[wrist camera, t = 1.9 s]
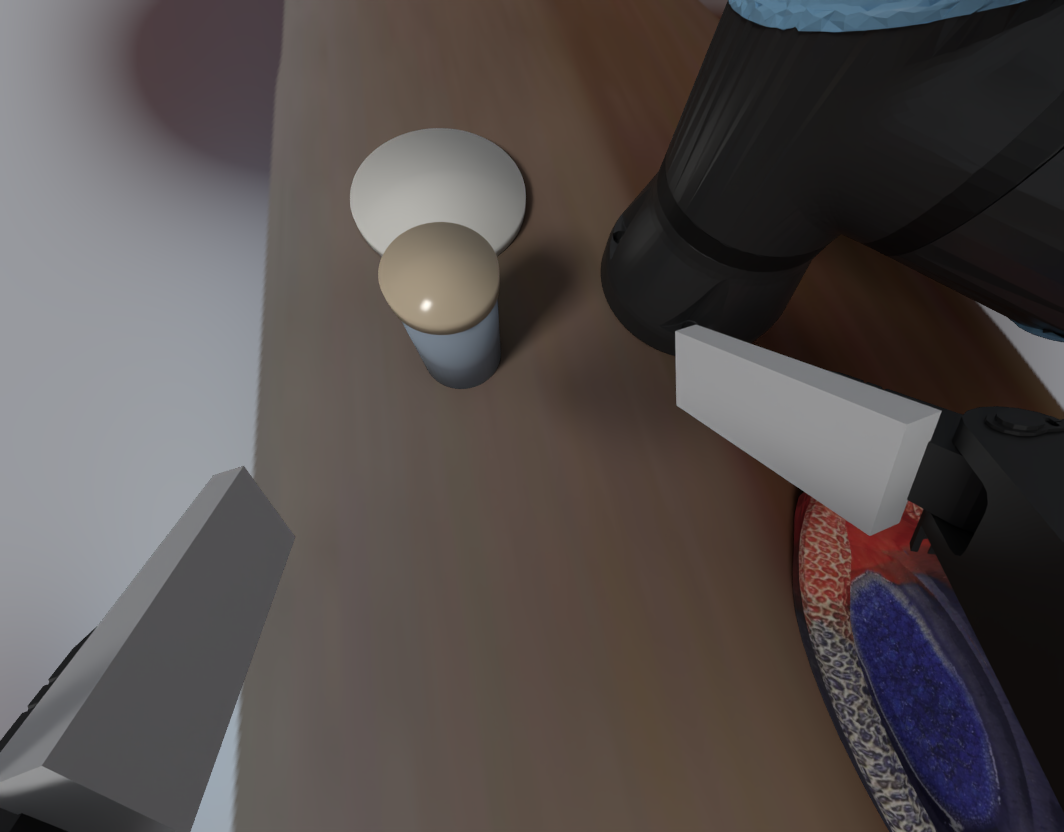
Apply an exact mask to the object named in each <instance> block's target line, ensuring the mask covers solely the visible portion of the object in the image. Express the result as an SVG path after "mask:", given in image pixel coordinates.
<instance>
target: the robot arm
mask: <svg viewBox="0 0 1064 832" xmlns="http://www.w3.org/2000/svg"><path fill="white" fill-rule="evenodd" d="M840 234H842V235H845V236H847V237H849V238H851V239H854V240H856V241H858V242H860V243H862V244H864V245H866V246H868V247H870V248H872V249H874V250H876V251H878V252H880V253H882V254H884V255H886V256H888V257H890V258H892V259H894V260H896V261H898V262H900V263H902V264H904V265H906V266H908V267H910V268H912V269H914V270H916V271H918V272H920V273H922V274H924V275H926V276H928V277H930V278H931V279H933V280H935V281H937V282H939V283H941V284H943V285H945V286H947V287H949V288H951V289H953V290H955V291H957V292H959V293H961V294H963V295H965V296H967V297H969V298H971V299H973V300H975V301H977V302H979V303H980V304H982V305H984V306H986V307H988V308H990V309H992V310H994V311H996V312H998V313H1000V314H1002V315H1004V316H1006V317H1008V318H1009V319H1010V320H1011V321H1013V322H1014V323H1015V324H1016V325H1017V326H1018V327H1019V328H1022V329H1023V330H1025V331H1027V332H1029V333H1031V334H1034V335H1037V336H1040V337H1043V338H1047V339H1049V340H1054V341H1059V342H1064V0H728V2H727V4H726V7H725V9H724V12H723V14H722V17H721V19H720V22H719V24H718V26H717V29H716V31H715V34H714V36H713V39H712V41H711V44H710V46H709V49H708V51H707V54H706V56H705V59H704V61H703V64H702V66H701V69H700V71H699V74H698V76H697V78H696V81H695V83H694V86H693V88H692V91H691V93H690V96H689V98H688V101H687V103H686V106H685V108H684V111H683V113H682V116H681V118H680V121H679V123H678V125H677V128H676V130H675V133H674V135H673V138H672V140H671V142H670V145H669V148H668V150H667V153H666V155H665V157H664V160H663V162H662V165H661V167H660V170H659V172H658V173H657V174H656V175H655V176H654V177H653V179H652V180H651V181H650V182H649V183H648V184H647V186H646V187H645V188H644V189H643V190H642V191H641V193H640V194H639V195H638V196H637V197H636V198H635V200H634V201H633V202H632V203H631V204H630V205H629V207H628V208H627V209H626V210H625V211H624V212H623V213H622V215H621V216H620V217H619V219H618V220H617V222H616V223H615V225H614V227H613V229H612V231H611V233H610V236H609V239H608V242H607V245H606V248H605V251H604V254H603V257H602V262H601V282H602V287H603V291H604V294H605V297H606V299H607V302H608V304H609V306H610V308H611V309H612V311H613V313H614V314H615V316H616V317H617V318H618V320H619V321H620V322H621V323H622V324H623V325H624V326H625V327H626V328H627V329H628V330H629V331H630V332H631V333H632V334H633V335H634V336H636V337H637V338H638V339H640V340H641V341H643V342H644V343H646V344H648V345H649V346H651V347H653V348H655V349H657V350H659V351H662V352H664V353H667V354H670V355H674V356H676V405H677V406H678V407H680V408H681V409H683V410H684V411H686V412H687V413H689V414H690V415H692V416H693V417H695V418H696V419H697V420H699V421H700V422H702V423H703V424H705V425H706V426H708V427H709V428H711V429H712V430H714V431H715V432H717V433H718V434H720V435H721V436H723V437H724V438H726V439H727V440H728V441H730V442H731V443H733V444H734V445H736V446H737V447H739V448H740V449H742V450H743V451H745V452H746V453H748V454H749V455H751V456H752V457H754V458H755V459H757V460H758V461H760V462H761V463H762V464H764V465H765V466H767V467H768V468H770V469H771V470H773V471H774V472H776V473H777V474H779V475H780V476H782V477H783V478H785V479H786V480H788V481H789V482H791V483H792V484H794V485H795V486H796V487H798V488H799V489H801V490H802V491H804V492H805V493H807V494H808V495H810V496H811V497H813V498H814V499H816V500H817V501H819V502H820V503H822V504H823V505H825V506H826V507H827V508H829V509H830V510H832V511H833V512H835V513H836V514H838V515H839V516H841V517H842V518H844V519H845V520H847V521H848V522H850V523H851V524H853V525H854V526H856V527H857V528H859V529H860V530H861V531H863V532H864V533H866V534H867V535H869V536H871V535H873V534H876V533H878V532H880V531H882V530H885V529H887V528H889V527H891V526H894V525H896V524H898V523H899V522H900V520H901V517H902V514H903V512H904V509H905V507H906V504H907V501H910V502H912V503H914V504H915V505H917V506H919V507H921V508H923V512H922V514H921V516H920V519H919V521H918V524H917V526H916V529H915V531H914V533H913V536H912V538H911V541H910V551H913V552H918V550H919V548H920V545H921V543H922V541H923V539H928V540H929V542H930V544H931V546H930V548H929V550H928V554H933V555H936V556H937V558H938V560H939V562H940V564H941V566H942V568H943V570H944V572H945V574H946V576H947V578H948V580H949V582H950V584H951V586H952V588H953V590H954V593H955V595H956V597H957V599H958V601H959V603H960V605H961V607H962V609H963V611H964V613H965V615H966V617H967V619H968V621H969V623H970V625H971V627H972V629H973V631H974V633H975V635H976V637H977V639H978V641H979V643H980V645H981V647H982V649H983V651H984V653H985V655H986V657H987V659H988V661H989V663H990V665H991V667H992V669H993V671H994V673H995V675H996V677H997V679H998V681H999V683H1000V685H1001V687H1002V689H1003V691H1004V693H1005V695H1006V697H1007V699H1008V701H1009V703H1010V705H1011V707H1012V710H1013V712H1014V714H1015V716H1016V718H1017V720H1018V722H1019V724H1020V726H1021V728H1022V730H1023V732H1024V734H1025V736H1026V738H1027V740H1028V742H1029V744H1030V746H1031V748H1032V750H1033V752H1034V754H1035V756H1036V758H1037V760H1038V762H1039V764H1040V766H1041V768H1042V770H1043V772H1044V774H1045V776H1046V778H1047V780H1048V782H1049V784H1050V786H1051V788H1052V790H1053V792H1054V794H1055V796H1056V798H1057V800H1058V802H1059V804H1060V806H1061V808H1062V810H1063V812H1064V419H1062V420H1059V419H1057V418H1055V417H1052V416H1048V415H1045V414H1042V413H1038V412H1034V411H1029V410H1024V409H1019V408H1009V407H998V406H996V407H979V408H976V409H972V410H968V411H967V412H966V413H965V414H964V415H962V414H959V413H956V412H953V411H950V410H947V409H944V408H941V407H938V406H935V405H933V404H930V403H927V402H924V401H921V400H918V399H915V398H912V397H909V396H907V395H904V394H901V393H898V392H895V391H892V390H889V389H885V390H883V389H882V387H880V386H878V385H875V384H872V383H869V382H867V383H864V382H863V380H860V379H857V378H854V377H852V376H849V375H846V374H843V373H839V372H833V371H827V370H824V369H821V368H818V367H816V366H813V365H810V364H807V363H804V362H801V361H798V360H796V359H793V358H790V357H787V356H784V355H781V354H779V353H776V352H773V351H770V350H767V349H764V348H761V347H759V346H756V345H753V344H751V343H752V342H753V341H755V340H756V339H757V338H759V337H760V336H761V335H762V334H764V333H765V332H766V331H767V330H768V329H769V328H771V327H772V325H773V324H774V323H775V322H776V321H777V320H778V319H779V317H780V316H781V315H782V313H783V311H784V310H785V308H786V306H787V304H788V302H789V301H790V299H791V297H792V295H793V293H794V291H795V290H796V288H797V286H798V284H799V282H800V281H801V279H802V277H803V275H804V273H805V271H806V270H807V268H808V266H809V264H810V262H811V260H812V259H813V258H814V257H815V256H816V255H817V254H818V253H819V252H820V251H821V250H823V249H824V248H825V247H826V246H827V245H828V244H829V243H830V242H832V241H833V240H834V239H835V238H837V237H838V236H839V235H840ZM294 539H295V536H294V534H293V533H292V532H291V530H290V529H289V528H288V526H287V525H286V523H285V522H284V521H283V519H282V518H281V517H280V515H279V514H278V512H277V511H276V510H275V508H274V507H273V506H272V504H271V503H270V501H269V500H268V499H267V497H266V496H265V495H264V493H263V492H262V490H261V489H260V488H259V486H258V485H257V484H256V482H255V481H254V479H253V478H252V477H251V475H250V474H249V473H248V471H247V470H246V469H245V467H244V466H242V467H238V468H235V469H233V470H229V471H226V472H223V473H219V474H217V475H213V476H212V478H211V479H210V480H209V482H208V483H207V484H206V486H205V487H204V488H203V490H202V491H201V492H200V493H199V495H198V496H197V497H196V499H195V500H194V501H193V503H192V504H191V505H190V506H189V508H188V509H187V510H186V512H185V513H184V514H183V516H182V517H181V518H180V519H179V521H178V522H177V523H176V525H175V526H174V527H173V529H172V530H171V531H170V533H169V534H168V535H167V536H166V538H165V539H164V540H163V541H162V543H161V544H160V545H159V547H158V548H157V549H156V551H155V552H154V553H153V554H152V556H151V557H150V558H149V560H148V561H147V562H146V564H145V565H144V566H143V568H142V569H141V570H140V571H139V573H138V574H137V575H136V577H135V578H134V579H133V581H132V582H131V583H130V585H129V586H128V587H127V588H126V590H125V591H124V592H123V594H122V595H121V596H120V597H119V599H118V600H117V601H116V603H115V604H114V605H113V607H112V608H111V609H110V610H109V612H108V613H107V614H106V616H105V617H104V618H103V620H102V621H101V622H100V623H99V625H98V626H97V627H96V628H95V629H94V630H93V631H91V633H89V634H88V635H87V636H86V637H85V638H84V639H83V640H82V641H81V642H80V643H79V644H78V645H76V646H75V647H74V648H73V649H72V651H71V652H70V653H69V654H68V655H67V657H66V658H65V659H64V661H63V662H62V663H61V664H60V666H59V667H58V668H57V669H56V671H55V672H54V673H53V674H52V676H51V677H50V678H49V684H48V685H45V686H43V687H42V689H41V690H40V691H39V693H38V694H37V695H36V696H35V697H34V699H33V700H32V701H31V702H30V704H29V705H28V711H27V712H24V713H22V714H21V715H20V716H19V718H18V719H17V720H16V722H15V723H14V724H13V725H12V727H11V728H10V729H9V730H8V732H7V733H6V734H5V736H4V737H3V738H2V740H1V741H0V832H190V831H191V828H192V825H193V823H194V820H195V817H196V814H197V811H198V809H199V806H200V803H201V800H202V797H203V795H204V792H205V789H206V786H207V783H208V781H209V778H210V775H211V772H212V769H213V767H214V763H215V761H216V758H217V755H218V752H219V750H220V747H221V744H222V741H223V738H224V735H225V733H226V730H227V727H228V724H229V722H230V719H231V716H232V713H233V710H234V708H235V705H236V702H237V699H238V696H239V694H240V691H241V688H242V685H243V682H244V680H245V677H246V674H247V671H248V668H249V666H250V663H251V660H252V657H253V654H254V652H255V649H256V646H257V643H258V640H259V638H260V635H261V632H262V629H263V626H264V624H265V621H266V618H267V615H268V612H269V609H270V607H271V604H272V601H273V598H274V595H275V593H276V590H277V587H278V584H279V581H280V579H281V576H282V573H283V570H284V567H285V565H286V562H287V559H288V556H289V553H290V551H291V548H292V545H293V542H294Z"/></svg>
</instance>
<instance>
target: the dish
mask: <svg viewBox="0 0 1064 832" xmlns="http://www.w3.org/2000/svg"><path fill="white" fill-rule="evenodd" d="M922 512H923V508H921V507H919V506H917V505H915V504H914V503H912V502H910V501H907V504H906V507H905V509H904V512H903V514H902V517H901V520H900V522H899V523H898V524H896V525H894V526H891V527H889V528H887V529H885V530H882V531H880V532H878V533H876V534H873V535H871V536H869V535H867V534H866V533H864V532H863V531H861V530H860V529H859V528H857V527H856V526H854V525H853V524H851V523H850V522H848V521H847V520H845V519H844V518H842V517H841V516H839V515H838V514H836V513H835V512H833V511H832V510H830V509H829V508H827V507H826V506H825V505H823V504H822V503H820V502H819V501H817V500H816V499H814V498H813V497H811V496H810V495H808V494H807V493H805V492H803V493H802V494H801V495H800V496H799V498H798V502H797V506H796V510H795V517H794V553H793V596H794V605H795V613H796V618H797V622H798V626H799V630H800V634H801V638H802V642H803V645H804V648H805V651H806V654H807V657H808V660H809V663H810V666H811V669H812V672H813V674H814V677H815V680H816V682H817V685H818V687H819V690H820V693H821V695H822V698H823V700H824V703H825V705H826V708H827V710H828V712H829V714H830V717H831V719H832V721H833V723H834V726H835V728H836V730H837V733H838V735H839V737H840V739H841V741H842V743H843V745H844V747H845V749H846V751H847V753H848V755H849V757H850V759H851V761H852V763H853V765H854V767H855V769H856V771H857V773H858V775H859V777H860V779H861V781H862V783H863V785H864V787H865V789H866V791H867V792H868V794H869V796H870V798H871V800H872V801H873V803H874V805H875V807H876V809H877V810H878V812H879V814H880V816H881V818H882V819H883V821H884V823H885V825H886V826H887V828H888V830H889V831H890V832H1064V812H1063V810H1062V808H1061V806H1060V804H1059V802H1058V800H1057V798H1056V796H1055V794H1054V792H1053V790H1052V788H1051V786H1050V784H1049V782H1048V780H1047V778H1046V776H1045V774H1044V772H1043V770H1042V768H1041V766H1040V764H1039V762H1038V760H1037V758H1036V756H1035V754H1034V752H1033V750H1032V748H1031V746H1030V744H1029V742H1028V740H1027V738H1026V736H1025V734H1024V732H1023V730H1022V728H1021V726H1020V724H1019V722H1018V720H1017V718H1016V716H1015V714H1014V712H1013V710H1012V707H1011V705H1010V703H1009V701H1008V699H1007V697H1006V695H1005V693H1004V691H1003V689H1002V687H1001V685H1000V683H999V681H998V679H997V677H996V675H995V673H994V671H993V669H992V667H991V665H990V663H989V661H988V659H987V657H986V655H985V653H984V651H983V649H982V647H981V645H980V643H979V641H978V639H977V637H976V635H975V633H974V631H973V629H972V627H971V625H970V623H969V621H968V619H967V617H966V615H965V613H964V611H963V609H962V607H961V605H960V603H959V601H958V599H957V597H956V595H955V593H954V590H953V588H952V586H951V584H950V582H949V580H948V578H947V576H946V574H945V572H944V570H943V568H942V566H941V564H940V562H939V560H938V558H937V556H936V555H933V554H928V550H929V548H930V546H931V544H930V542H929V540H928V539H923V541H922V543H921V545H920V548H919V550H918V552H913V551H910V541H911V538H912V536H913V533H914V531H915V529H916V526H917V524H918V521H919V519H920V516H921V514H922Z"/></svg>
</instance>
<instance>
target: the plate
mask: <svg viewBox="0 0 1064 832" xmlns="http://www.w3.org/2000/svg"><path fill="white" fill-rule="evenodd" d="M350 205H351V211H352V215H353V218H354V220H355V222H356V224H357V227H358V228H359V230H360V232H361V234H362V236H363V237H364V239H365V240H366V242H367V243H368V244H369V245H370V247H371V248H372V249H373V250H374V251H375V252H377V253H378V254H379V255H380V256H381V257H382V256H383V254H384V252H385V250H386V249H387V247H388V246H389V245H390V243H391V242H392V241H393V240H394V239H395V238H397V237H398V236H399V235H400V234H402V233H404V232H405V231H407V230H409V229H411V228H413V227H416V226H418V225H422V224H426V223H432V222H449V223H455V224H460V225H463V226H466V227H468V228H470V229H472V230H474V231H476V232H477V233H479V234H480V235H481V236H482V237H484V238H485V239H486V240H487V241H488V242H489V244H490V245H491V246H492V248H493V250H494V252H495V253H496V256H498V255H499V254H501V253H502V252H503V251H504V250H505V249H506V248H507V247H508V246H509V245H510V244H511V243H512V241H513V240H514V239H515V237H516V236H517V234H518V232H519V230H520V228H521V226H522V223H523V219H524V216H525V206H526V191H525V185H524V180H523V177H522V175H521V173H520V170H519V169H518V167H517V165H516V164H515V162H514V161H513V160H512V159H511V157H510V156H509V155H508V154H507V153H506V152H505V151H504V150H502V149H501V148H500V147H498V146H497V145H496V144H494V143H492V142H491V141H489V140H487V139H485V138H483V137H481V136H478V135H476V134H473V133H469V132H466V131H461V130H456V129H447V128H432V129H423V130H417V131H413V132H409V133H406V134H403V135H400V136H398V137H395V138H393V139H391V140H389V141H387V142H386V143H384V144H382V145H381V146H380V147H378V148H377V149H375V150H374V151H373V152H372V153H371V154H370V155H369V156H368V157H367V158H366V159H365V160H364V162H363V163H362V164H361V166H360V167H359V169H358V170H357V172H356V175H355V177H354V179H353V182H352V186H351V192H350Z"/></svg>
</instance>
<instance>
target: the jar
mask: <svg viewBox="0 0 1064 832" xmlns="http://www.w3.org/2000/svg"><path fill="white" fill-rule="evenodd" d="M378 277H379V284H380V288H381V290H382V293H383V295H384V297H385V299H386V300H387V302H388V304H389V306H390V308H391V309H392V311H393V312H394V314H395V315H396V316H397V317H398V318H399V319H400V320H401V321H402V323H403V324H404V326H405V328H406V330H407V332H408V334H409V336H410V338H411V340H412V341H413V343H414V345H415V347H416V349H417V351H418V353H419V355H420V357H421V359H422V360H423V362H424V364H425V366H426V368H427V370H428V371H429V373H430V374H431V376H432V377H433V378H434V379H435V380H436V381H438V382H439V383H441V384H443V385H445V386H447V387H450V388H455V389H467V388H472V387H475V386H478V385H480V384H482V383H484V382H485V381H487V380H488V379H489V378H490V377H491V376H492V375H493V374H494V372H495V371H496V369H497V367H498V365H499V362H500V358H501V347H500V331H499V315H498V300H497V299H498V296H499V291H500V275H499V263H498V259H497V256H496V253H495V252H494V250H493V248H492V246H491V245H490V244H489V242H488V241H487V240H486V239H485V238H484V237H482V236H481V235H480V234H479V233H477V232H476V231H474V230H472V229H470V228H468V227H466V226H463V225H460V224H455V223H449V222H432V223H426V224H422V225H418V226H416V227H413V228H411V229H409V230H407V231H405V232H404V233H402V234H400V235H399V236H398V237H397V238H395V239H394V240H393V241H392V242H391V243H390V245H389V246H388V247H387V249H386V250H385V252H384V254H383V256H382V258H381V261H380V265H379V272H378Z"/></svg>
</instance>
